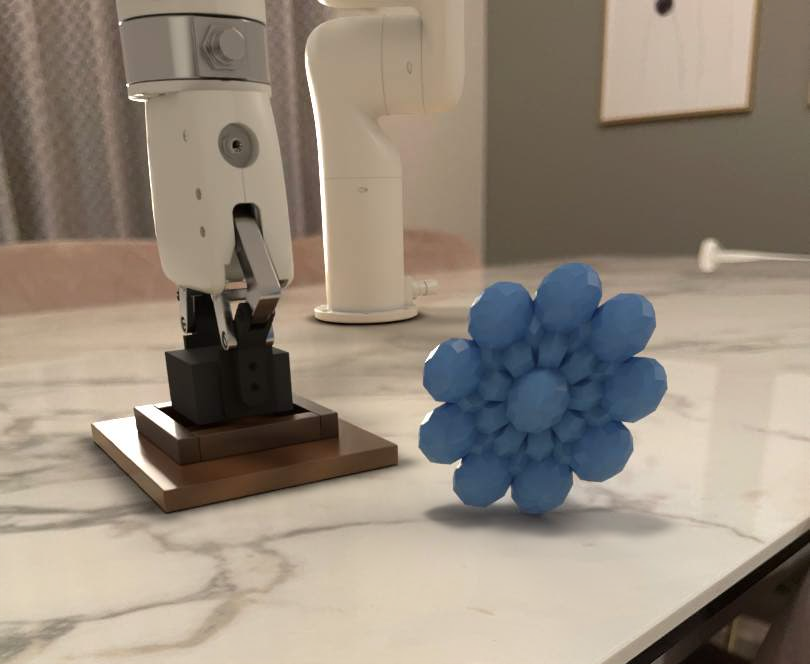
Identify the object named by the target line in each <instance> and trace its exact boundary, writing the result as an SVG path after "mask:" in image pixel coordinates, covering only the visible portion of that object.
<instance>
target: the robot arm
mask: <svg viewBox="0 0 810 664" xmlns="http://www.w3.org/2000/svg"><path fill="white" fill-rule="evenodd" d="M317 1H318V2H319V3H320V4H322V5H324V6H326V7H330V8H336V9H377V8H378V9H379V8H396V7H397V8H400V7H401V8H403V7H404V8H405V7H409V8H410V7H411V8H413V9H415V10H416V12H417V13H418V14H398V15H396V14H395V15H386V14H381V15H380V14H378V15H377V14H375V15H353V16H344V17H337V18H333V19H329V20H326V21H324V22H322V23H320V24H319V25H317V26H316V27H314V29H313V30H312V31H311V32H310V34H309V36H308V37H307V40H306V43H305V49H304V65H305V73H306V78H307V83H308V88H309V93H310V99H311V105H312V110H313V116H314V122H315V123H314V124H315V132H316V140H317V151H318V152H317V153H318V167H319V184H320V186H319V187H320V204H321V220H322V221H321V222H322V241H323V256H324V257H323V258H324V259H323V260H324V274H325V293H326V303H324V304H321V305H320V304H319V305H317V306H316V307H315V308H314V317H315V318H316V319H317V320H320V321H324V322H327V323H328V322H329V323H340V324H377V323H388V322H396V321H397V322H398V321H403V320H408V319H412V318H414V317H416V316H417V315H418V314H419V313H418V312H419V311H418V308H419V307H418V305H417V304H416V303H414V302H413V300H416V299H417V298H418V297H421V296H422V297H427V296H429V297H430V296H436V295H437V294H438V293H439V290H440V287H439V282H438V280H437V279H435V278H432V279H431V278H430V279H422V280H418V281H417V280H416V279H414V278H413V276H411V275H406V274H405V253H404V252H405V251H404V250H405V249H404V246H405V245H404V244H405V243H404V203H403V201H404V199H403V197H404V196H403V161H402V158H401V157H402V156H401V154H400V152H399V149H398V148H397V145H396V144H395V143H394V141H393V140H392V139H391V137H390V136H389V135H388V134H387V132H386V131H385V130H384V129H383V128H382V126H381V125H380V124H379V122H378V119H379V118H380V117H384V116H385V117H386V116H391V115H421V114H422V115H423V114H424V115H425V114H438V113H444V112H447V111H450V110H452V109H453V108H454V107H456V106H457V105H458V103H459V102H460V100H461V98H462V95H463V92H464V87H465V80H466V38H465V37H466V35H465V0H317ZM115 6H116V13H117V14H116V15H117V20H118V22H117V23H118V25H119V26H118V29H119V37H120V44H121V45H120V46H121V52H122V53H121V54H122V60H123V61H122V62H123V67H124V75H125V82H126V89H127V97H128V98H127V99H129V100H131V101H136V102H143V103H144V111H145V131H146V140H145V143H146V146H147V161H148V171H149V183H150V195H151V205H152V212H153V213H152V214H153V221H154V223H153V224H154V230H155V238H156V243H157V250H158V256H159V261H160V265H161V269H162V272H163V274H164V276H165V277H166V278H167V279H168V280H170V281H171V282H172V283H174V284H175V287H176V289H177V291H176V294H177V296H176V299H177V301H178V302H179V320H180V321H179V322H180V328H181V331H182V333H183V334H184V335H183V334H182V339H183V348H184V349H191V348H199V347H208V346H216V345H222V346H223V348H222V349H216V355H217V365H218V374H219V383H220V392H221V402H222V411H223V415H224V416H225V417H227V418H228V419H231V420H233V419H239V418H246V417H252V416H258V415H264V414H270V413H274V412H275V411H276V409H277V398H276V385H275V373H274V361H273V349H272V347H273V345H274V343H275V332H274V328H273V323H274V319H275V318H274V317H275V316H276V308H277V307H278V304H279V303H280V300H281V298H282V290H285V289H287V288H288V287H289V286H290V285H291V284H292V282H293V280H294V277H295V264H294V253H293V242H292V233H291V224H290V216H289V206H288V196H287V190H286V189H287V188H286V182H285V174H284V167H283V160H282V159H283V158H282V154H281V147H280V141H279V136H278V132H277V131H278V130H277V126H276V121H275V116H274V111H273V108H272V104H271V99H272V98H273V96H272V86H271V85H272V81H271V67H270V66H271V65H270V55H269V54H270V53H269V40H268V29H267V14H266V13H267V10H266V0H115ZM230 283H231V284H232V283H245V284H246V287H240V288H239V287H238V288H230ZM232 304H237V307H236V309H235V314H234V316H233V312H232V307H231V306H232Z"/></svg>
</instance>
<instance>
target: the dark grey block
mask: <svg viewBox="0 0 810 664" xmlns="http://www.w3.org/2000/svg"><path fill="white" fill-rule="evenodd" d="M222 348H223V346H222V345H216V346H208V347H199V348H191V349H183V348H182V349H175V350H174V349H173V350H167V351H166V350H165V351H164V358H165V368H166V374H167V381H168V391H169V398H170V402H171V405H172V408H173V409H174V410H176V411H177V412H179V413H181V414H182V415H184V416H185V417H187V418H188V419H190V420H191V421H193V422H194V423H196V424H197V425H204V424H210V423H216V422H222V421H228V420H231V419H228V418H227V417H225V416H224V415H223V411H222V402H221V392H220V383H219V374H218V365H217V355H216V349H222ZM272 349H273V361H274V373H275V385H276V398H277V409H276V411H275V412H274V413H277V412H284V411H290V410H293V399H292V392H293V387H292V375H291V374H292V373H291V372H292V371H291V360H290V358H291V357H290V352H289V351H286V350H284V349H280V348H277V347H275V346H272ZM270 414H271V413H270ZM264 415H265V414H264ZM258 416H259V415H258ZM252 417H253V416H252ZM246 418H247V417H246ZM239 419H241V418H239ZM233 420H235V419H233Z"/></svg>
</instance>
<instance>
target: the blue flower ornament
mask: <svg viewBox="0 0 810 664" xmlns="http://www.w3.org/2000/svg"><path fill="white" fill-rule="evenodd" d="M602 298H603V285H602V281H601V278H600V275H599V273H598V272H597V271H596V270H595V269H594V268H593V267H592V266H590V265H589V264H585V263H582V262H565V263H564V264H562V265H560V266H558V267H556V268H554V269H553V270H552V271H550V272H549V273H547V274H546V275H545V276H544V277H543V278H542V280H541V281H540V284H539V285H538V287H537V289H536V291H535V294H534V297H533V298H532V296H531V294H530V292H529V290H527V289H526V288H525V287H524V286H523V284H521V283H519V282H515V281H497V282H495V283H494V284H493V283H492V284H491V285H490V286H487V287H486V288H485V289H483V290H482V291H481V292H480V293H479V294H478V295H476V297H475V299H474V301H473V302H472V304H471V306H470V307H469V311H468V315H467V333H468V334H469V336H470V338H471V339H468V338H462V337H461V338H460V337H450V338H448V339H447V340H445V341H443V342H441V343H439V344H438V345H437V346H436V347H435V348H433V349H432V350H431V351H430V353H429V355H428V356H427V358H426V360H425V361H424V364H423V368H422V369H423V370H422V386H423V387H424V389H425V390H426V392H427V393H428V394H429V396H430V397H431V398H432V399H433V400H434V401H435V402H439V403H443V404H441V405H438V406H437V407H435V408H434V409H432V410H431V411H430V412H428V413H426V415H425V417H424V418H423V420H422V422H421V423H420V425H419V428H418V434H417V445H418V446H417V447H418V449H419V450H420V452H421V453H422V454H423V455H424V456H425V458H426V459H427V460H428V461H429V463H432V464H439V465H453V464H454V463H456V462H457V461H459V462H458V464H457V465H456V467H455V469H454V472H453V476H452V491H453V492H454V494H455V495H456V496H457V498H459V500H460V501H461V502H462V503H463V505H465V506H468V507H473V508H486V507H488V506H491V505H492V504H494V503H496V502H497V501H499V500H501V499H502V498H504V497H505V496H506V494H507V492H508V491H509V489H510V497H511V499H512V500H513V502H514V503H515V505H516V506H517V507H518V508H519V509H520V510H521V512H523V513H526V514H532V515H545V514H547V513H549V512H552V511H553V510H556V509H557V508H558V507H560V506H561V505H562V504H564V503H565V501H566V499H567V497H568V495H569V493H570V492H571V490H572V487H573V485H574V475H576V477H577V479H579V480H580V481H585V482H589V483H603V482H605V481H607V480H610V479H612V478H614V477H615V476H617V475H618V474H620V473H621V472H623V470H624V468H625V467H626V465H627V464H628V462H629V460H630V458H631V456H632V455H633V453H634V450H635V449H634V437H633V434H632V432H631V430H630V429H629V428H628V427H627V426H626V425H625V424H624V423H630V424H634V423H637V422H638V421H641V420H642V419H644V418H646V417H648V416H649V415H651V414H652V413H654V412H655V411H657V409H658V407H659V405H660V404H661V402H662V400H663V398H664V397H665V394H666V392H667V391H668V388H669V387H668V377H667V373H666V369H665V367H664V365H662V364H661V363H660V362H659V361H658V360H657V359H656V358H654V357H653V358H651V357H647V356H636V355H637V354H639V353H641V352H642V351H645V348H646V347H647V345H648V344H649V341H650V340H651V338H652V336H653V334H654V332H655V329H656V328H657V318H656V311H655V308H654V305H653V303H652V302H651V301H650V300H649V299H648V298H646V297H645V296H644V295H642V294H638V293H634V292H633V293H632V292H631V293H630V292H629V293H626V292H625V293H622V292H621V293H618V294H617V295H615V296H613V297H611V298H608V300H606V301H605V302H604V303H602V304H601V305H600V303H601V301H602Z"/></svg>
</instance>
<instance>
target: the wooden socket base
mask: <svg viewBox="0 0 810 664" xmlns="http://www.w3.org/2000/svg"><path fill="white" fill-rule="evenodd" d="M292 399H293V410H290V411H284V412H277V413H271V414H265V415H259V416H253V417H247V418H241V419H235V420H228V421H222V422H216V423H210V424H204V425H197V424H196V423H194V422H193V421H191V420H190V419H188V418H187V417H185V416H184V415H182V414H181V413H179V412H177V411H176V410H174V409H173V408H172V405H171V401H167V402H160V403H154V404H146V405H140V406H134V407H133V416H130V417H124V418H117V419H110V420H104V421H97V422H92V423H90V429H91V435H92V440H93V441H94V443H95V444H97V445H98V446H99V447H100V448H101V449H102V450H103V451H104V452H105V453H106V454H107V455H108V456H109V457H110V458H111V459H112V460H113V461H114V462H115V463H116V464H117V465H118V466H119V467H120V468H121V469H122V470H123V471H124V472H125V473H126V474H127V475H128V476H129V477H130V478H131V479H132V481H134V482H135V483H136V484H137V485H138V486H139V487H140V488H141V489H142V490H143V491H144V492H145V493H146V494H147V495H148V496H149V497H150V498H151V499H152V500H153V501H154V502H156V504H157V505H159V506H160V508H161V509H163V510H164V511H165V513H171V512H172V513H173V512H176V511H180V510H186V509H190V508H195V507H200V506H203V505H211V504H213V503H218V502H224V501H229V500H232V499H233V500H234V499H237V498H242V497H248V496H250V495H256V494H261V493H266V492H270V491H276V490H280V489H285V488H289V487H294V486H300V485H303V484H309V483H313V482H319V481H322V480H323V481H324V480H327V479H333V478H337V477H341V476H342V477H343V476H347V475H352V474H357V473H360V472H366V471H371V470H375V469H380V468H384V467H389V466H394V465H398V464H399V445H398V444H396V443H395V442H392V441H390V440H388V439H385V438H383V437H381V436H379V435H378V434H375V433H373V432H371V431H368V430H366V429H365V428H362V427H360V426H357V425H355V424H353V423H351V422H349V421H346V420H344V419H343V418H340V417H339V413H338V412H337V411H335V410H333V409H331V408H329V407H326V406H324V405H322V404H319V403H318V402H315V401H314V400H313V401H312V400H311V399H309V398H306V397H304V396H301V395H300V394H297V393H295V392H293V391H292Z"/></svg>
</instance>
